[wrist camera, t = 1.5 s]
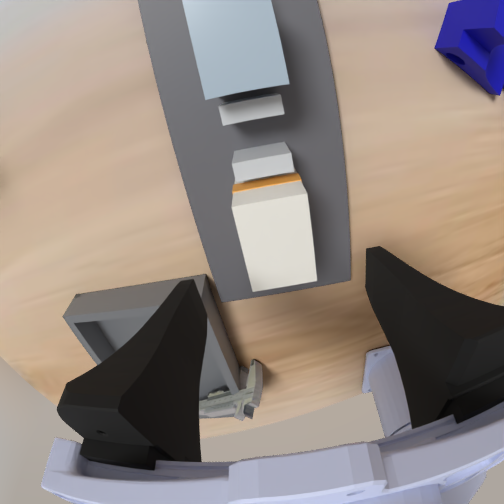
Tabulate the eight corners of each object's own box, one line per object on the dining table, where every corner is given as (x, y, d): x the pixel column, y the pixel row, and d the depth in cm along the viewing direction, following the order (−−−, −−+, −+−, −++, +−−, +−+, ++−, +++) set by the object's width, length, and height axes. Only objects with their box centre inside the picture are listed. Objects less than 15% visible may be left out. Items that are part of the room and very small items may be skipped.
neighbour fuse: (261, 6, 13) (265, -21, 8) (278, 84, 15) (289, 84, 11) (199, 18, 13) (181, -4, 9) (217, 95, 16) (205, 99, 11)
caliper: (254, 354, 28) (255, 410, 23) (262, 359, 29) (264, 414, 23) (145, 413, 36) (137, 452, 30) (152, 417, 36) (145, 455, 31)
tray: (205, 274, 23) (200, 299, 20) (249, 392, 31) (249, 415, 29) (76, 294, 24) (62, 316, 22) (148, 397, 33) (143, 418, 30)
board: (290, -74, 10) (299, -100, 7) (347, 274, 23) (361, 306, 20) (133, -41, 11) (111, -61, 7) (222, 295, 24) (218, 330, 21)
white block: (293, 163, 18) (308, 192, 14) (303, 236, 20) (317, 281, 16) (234, 174, 18) (230, 206, 14) (251, 245, 21) (252, 292, 16)
